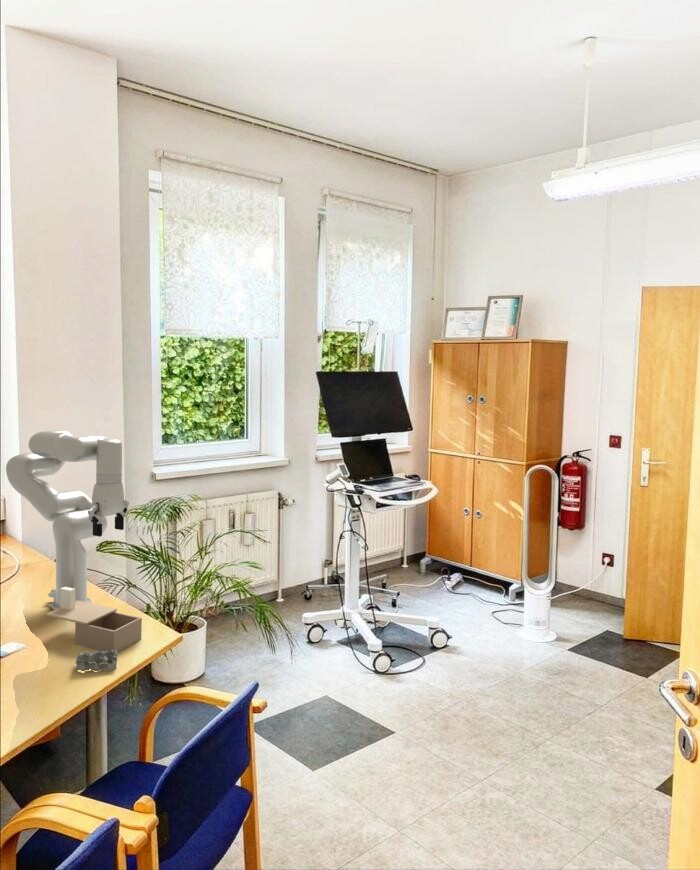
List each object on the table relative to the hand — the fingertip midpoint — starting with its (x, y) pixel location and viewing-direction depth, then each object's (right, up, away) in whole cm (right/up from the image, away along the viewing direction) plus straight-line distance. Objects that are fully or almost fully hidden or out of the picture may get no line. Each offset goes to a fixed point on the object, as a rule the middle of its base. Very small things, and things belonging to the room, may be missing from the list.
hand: (108, 532), depth 222 cm
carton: (+5, -30, -14) cm, 34 cm away
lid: (-4, -23, -11) cm, 25 cm away
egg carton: (+7, -33, -30) cm, 45 cm away
